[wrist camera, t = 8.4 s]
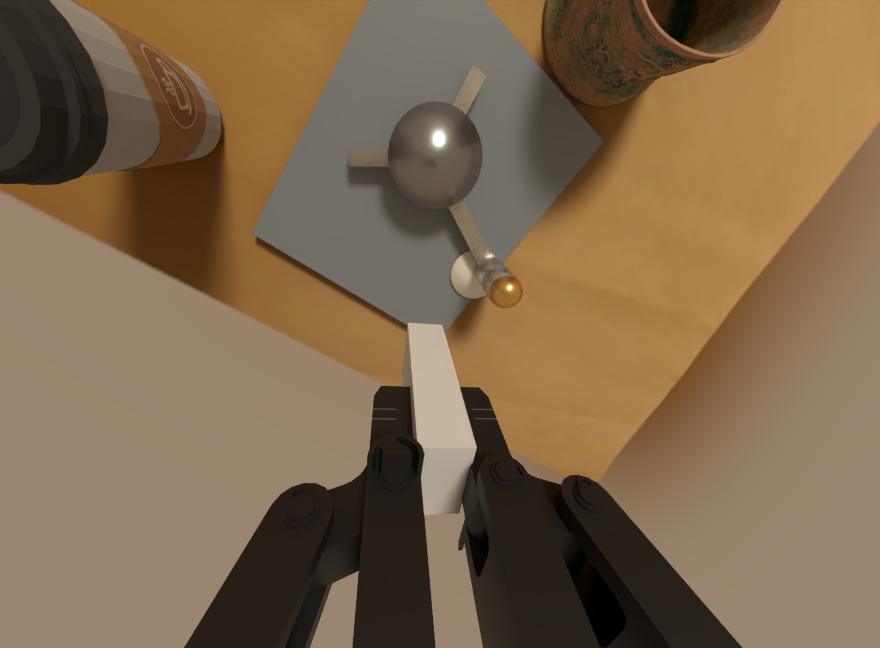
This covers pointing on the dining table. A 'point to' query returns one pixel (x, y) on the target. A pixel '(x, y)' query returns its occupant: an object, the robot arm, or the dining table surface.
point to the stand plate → (372, 188)
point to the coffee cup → (92, 97)
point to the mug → (643, 41)
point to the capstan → (445, 174)
